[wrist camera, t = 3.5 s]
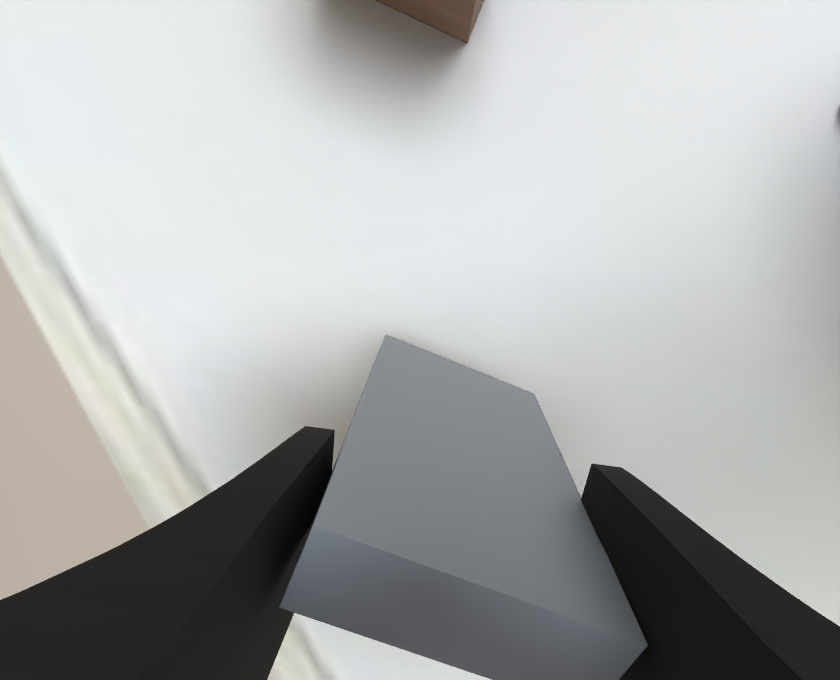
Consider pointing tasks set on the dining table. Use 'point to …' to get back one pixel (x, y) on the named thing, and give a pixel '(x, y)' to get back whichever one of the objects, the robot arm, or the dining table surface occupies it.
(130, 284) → the dining table surface
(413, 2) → the domino
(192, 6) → the dining table surface
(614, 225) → the dining table surface
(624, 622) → the domino
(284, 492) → the robot arm
